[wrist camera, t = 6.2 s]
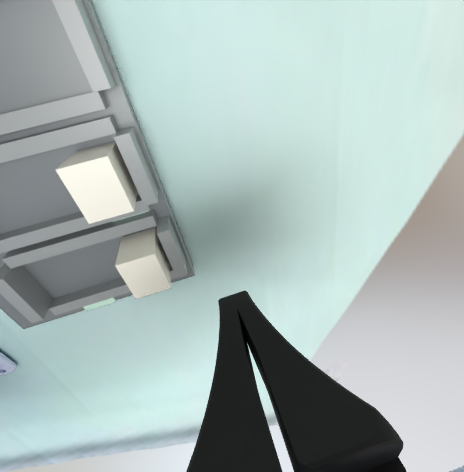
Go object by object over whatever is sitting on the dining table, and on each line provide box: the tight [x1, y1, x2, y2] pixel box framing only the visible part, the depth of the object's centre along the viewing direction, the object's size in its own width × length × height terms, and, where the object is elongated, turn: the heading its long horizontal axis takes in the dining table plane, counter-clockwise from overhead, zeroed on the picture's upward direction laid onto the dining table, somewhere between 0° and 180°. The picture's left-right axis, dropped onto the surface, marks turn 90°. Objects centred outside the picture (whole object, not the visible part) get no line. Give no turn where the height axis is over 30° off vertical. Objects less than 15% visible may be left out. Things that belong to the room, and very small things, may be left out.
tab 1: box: [56, 142, 138, 224], centre depth 14 cm, size 2×3×3 cm
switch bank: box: [0, 0, 194, 329], centre depth 15 cm, size 14×20×3 cm
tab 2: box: [115, 227, 171, 299], centre depth 17 cm, size 2×3×3 cm
